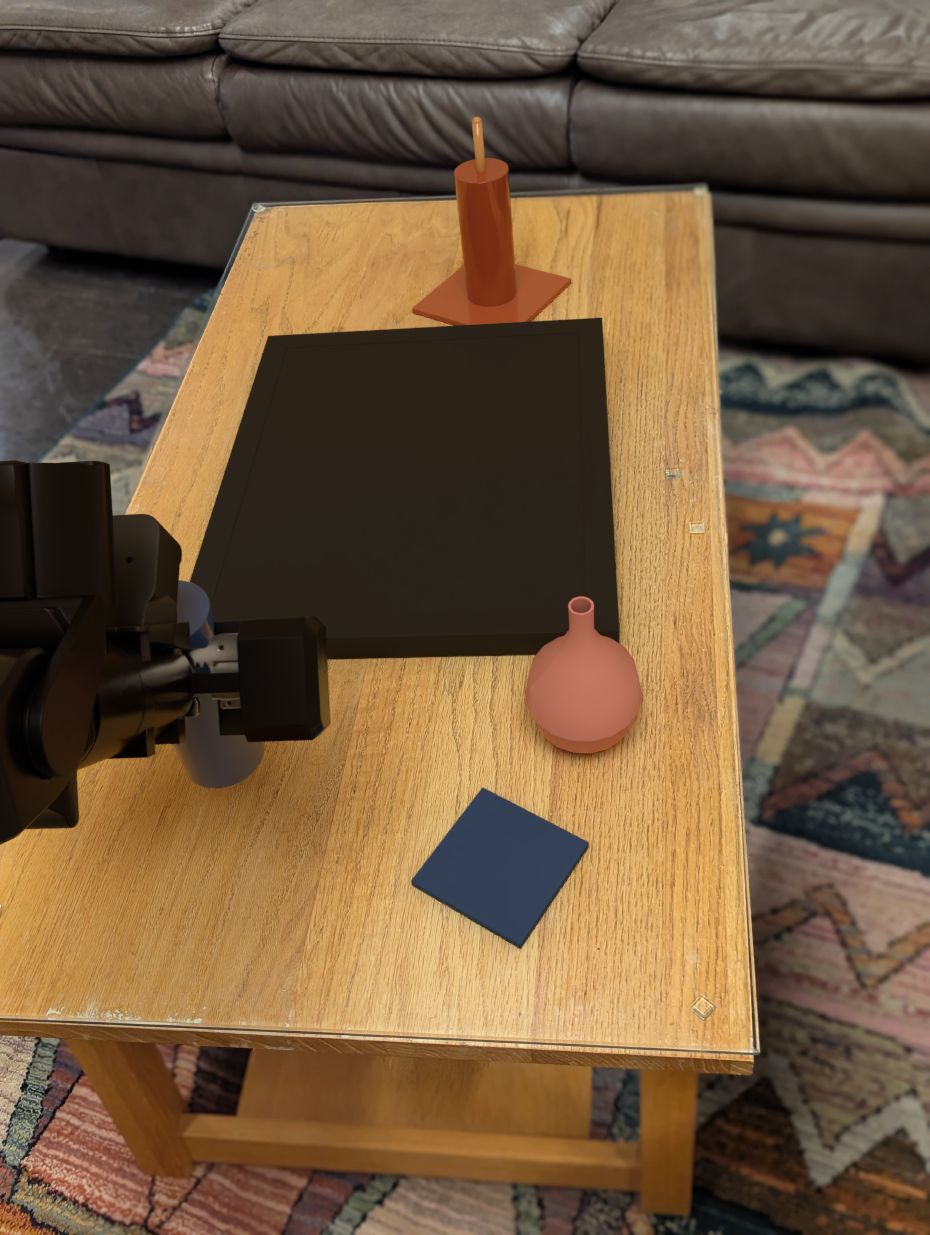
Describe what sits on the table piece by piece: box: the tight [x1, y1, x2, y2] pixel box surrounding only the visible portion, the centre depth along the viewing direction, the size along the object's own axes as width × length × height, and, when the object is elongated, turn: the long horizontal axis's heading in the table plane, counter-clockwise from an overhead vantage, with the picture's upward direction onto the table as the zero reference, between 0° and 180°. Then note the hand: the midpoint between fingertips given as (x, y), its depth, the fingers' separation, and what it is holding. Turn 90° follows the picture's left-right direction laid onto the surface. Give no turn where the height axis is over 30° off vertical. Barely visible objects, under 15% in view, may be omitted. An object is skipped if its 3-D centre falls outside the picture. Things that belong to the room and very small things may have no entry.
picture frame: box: [189, 317, 621, 660], centre depth 92 cm, size 40×2×33 cm
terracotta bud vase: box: [524, 597, 644, 754], centre depth 69 cm, size 8×8×12 cm
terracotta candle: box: [453, 116, 517, 306], centre depth 105 cm, size 5×5×18 cm
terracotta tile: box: [411, 263, 572, 326], centre depth 112 cm, size 12×12×1 cm
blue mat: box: [410, 787, 590, 950], centre depth 67 cm, size 8×8×1 cm
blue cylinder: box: [170, 579, 266, 790], centre depth 63 cm, size 5×5×13 cm
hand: (200, 670), depth 64 cm, fingers closed on blue cylinder, 5 cm apart
